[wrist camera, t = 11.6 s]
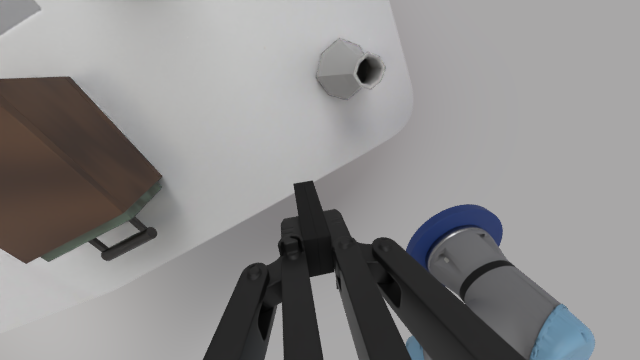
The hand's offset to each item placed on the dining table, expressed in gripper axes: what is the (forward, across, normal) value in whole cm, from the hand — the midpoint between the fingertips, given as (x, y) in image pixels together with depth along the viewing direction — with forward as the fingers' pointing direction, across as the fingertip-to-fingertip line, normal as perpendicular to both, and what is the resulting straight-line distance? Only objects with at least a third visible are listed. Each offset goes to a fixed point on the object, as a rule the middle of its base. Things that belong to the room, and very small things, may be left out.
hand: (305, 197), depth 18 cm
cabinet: (+18, -28, +2) cm, 33 cm away
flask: (+18, +8, +8) cm, 22 cm away
